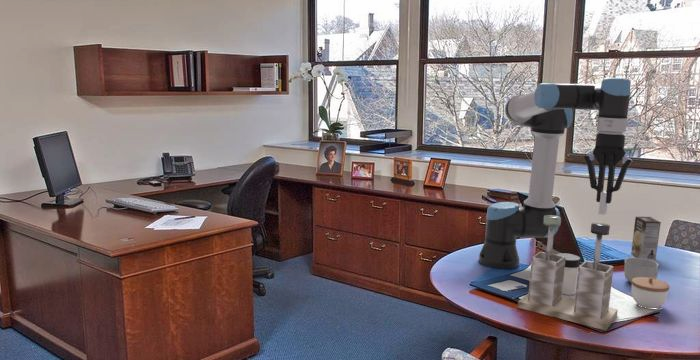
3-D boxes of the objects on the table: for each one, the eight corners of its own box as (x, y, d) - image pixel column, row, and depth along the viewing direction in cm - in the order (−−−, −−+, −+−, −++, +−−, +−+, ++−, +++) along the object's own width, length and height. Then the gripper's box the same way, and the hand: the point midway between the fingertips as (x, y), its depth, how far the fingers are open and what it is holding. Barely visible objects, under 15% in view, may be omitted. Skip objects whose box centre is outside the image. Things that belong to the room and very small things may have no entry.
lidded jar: (622, 299, 191) (625, 272, 189) (653, 299, 192) (656, 272, 190) (641, 312, 180) (644, 283, 179) (673, 312, 181) (677, 283, 180)
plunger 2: (580, 281, 173) (586, 225, 170) (586, 275, 178) (591, 221, 175) (603, 286, 169) (609, 228, 166) (608, 280, 174) (614, 224, 171)
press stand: (517, 307, 181) (521, 258, 179) (532, 294, 193) (537, 248, 190) (606, 330, 166) (612, 277, 164) (617, 315, 178) (622, 265, 175)
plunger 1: (533, 270, 181) (538, 217, 178) (540, 265, 186) (545, 213, 183) (554, 275, 177) (559, 220, 174) (560, 270, 182) (566, 216, 179)
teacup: (660, 289, 201) (663, 267, 199) (626, 286, 203) (629, 264, 201) (648, 276, 214) (650, 255, 213) (616, 273, 216) (619, 253, 215)
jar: (583, 293, 195) (587, 259, 193) (565, 296, 192) (569, 262, 189) (563, 284, 203) (566, 251, 201) (545, 287, 200) (548, 254, 197)
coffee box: (630, 253, 242) (634, 216, 240) (645, 253, 242) (650, 216, 240) (640, 260, 233) (645, 221, 231) (656, 260, 233) (661, 222, 230)
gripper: (583, 131, 166) (575, 212, 170) (633, 135, 159) (623, 219, 163) (590, 130, 172) (582, 208, 176) (638, 133, 165) (629, 215, 169)
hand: (602, 213), depth 169 cm, fingers closed
